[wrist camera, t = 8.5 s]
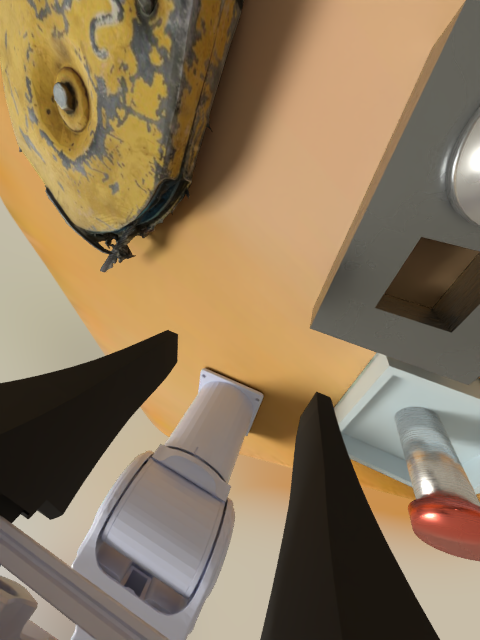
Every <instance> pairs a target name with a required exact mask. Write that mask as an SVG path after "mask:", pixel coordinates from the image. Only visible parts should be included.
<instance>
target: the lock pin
mask: <svg viewBox="0 0 480 640" xmlns="http://www.w3.org/2000/svg"><path fill="white" fill-rule="evenodd" d="M394 420H395V424H396V427H397V431H398V435H399V438H400V442H401V446H402V449H403V453H404V457H405V460H406V464H407V468H408V471H409V475H410V479H411V482H412V486H413V490H414V493H415V497H416V500H414V501H412V502H411V503H410V504H409V506H408V511H409V515H410V519H411V523H412V527H413V531H414V533H415V534H416V535H417V536H418V538H420V539H421V540H422V541H424V542H425V543H427V544H428V545H430V546H432V547H434V548H436V549H438V550H440V551H443V552H446V553H448V554H451V555H454V556H457V557H461V558H465V559H470V560H475V561H480V502H479V500H478V498H477V496H476V494H475V492H474V489H473V487H472V485H471V483H470V481H469V479H468V477H467V475H466V473H465V470H464V468H463V466H462V464H461V462H460V460H459V458H458V456H457V454H456V451H455V449H454V447H453V445H452V443H451V441H450V439H449V437H448V435H447V432H446V430H445V428H444V426H443V424H442V422H441V420H440V418H439V416H438V415H437V414H436V413H435V412H433V411H432V410H429V409H427V408H423V407H406V408H403V409H400V410H399V411H397V412H396V413H395V416H394Z"/></svg>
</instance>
